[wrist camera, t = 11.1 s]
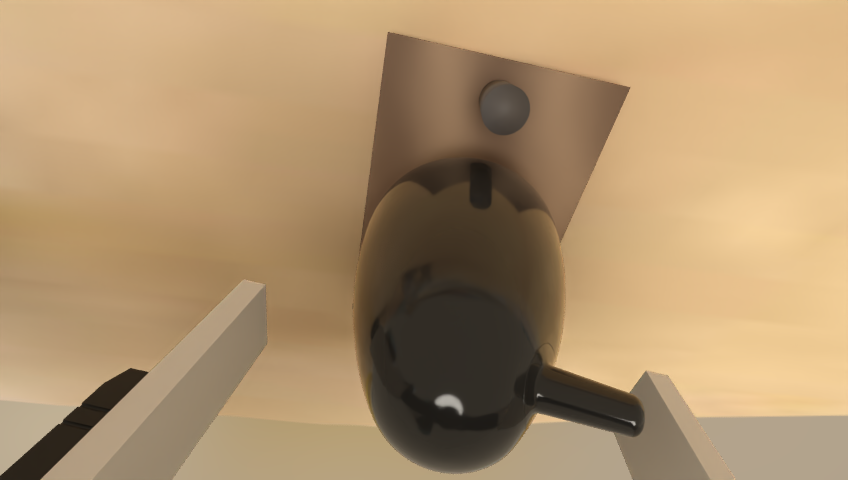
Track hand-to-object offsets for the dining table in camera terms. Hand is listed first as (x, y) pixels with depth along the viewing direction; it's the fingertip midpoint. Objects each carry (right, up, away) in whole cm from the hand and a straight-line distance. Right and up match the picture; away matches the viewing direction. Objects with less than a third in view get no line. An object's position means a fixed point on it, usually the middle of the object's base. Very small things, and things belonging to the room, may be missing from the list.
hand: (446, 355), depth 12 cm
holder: (+2, +6, +12) cm, 13 cm away
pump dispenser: (+2, +5, +11) cm, 12 cm away
